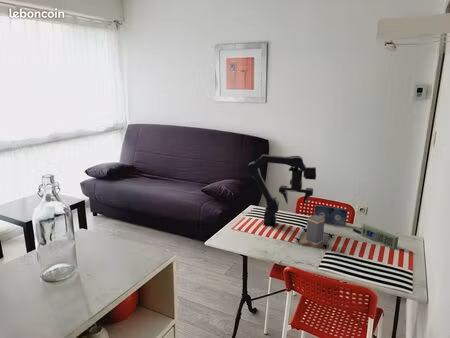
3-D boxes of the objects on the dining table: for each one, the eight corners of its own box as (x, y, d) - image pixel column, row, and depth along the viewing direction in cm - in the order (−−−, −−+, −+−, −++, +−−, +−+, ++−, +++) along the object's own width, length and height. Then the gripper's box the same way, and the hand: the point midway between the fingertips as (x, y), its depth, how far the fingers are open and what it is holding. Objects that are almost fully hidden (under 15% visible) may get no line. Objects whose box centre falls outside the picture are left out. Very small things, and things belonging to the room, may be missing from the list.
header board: (298, 244, 175) (299, 237, 174) (301, 234, 186) (301, 227, 185) (322, 248, 171) (323, 240, 170) (324, 238, 182) (324, 231, 181)
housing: (306, 239, 177) (307, 217, 174) (313, 236, 180) (314, 214, 177) (315, 243, 172) (317, 220, 169) (322, 240, 176) (324, 218, 173)
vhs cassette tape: (346, 224, 200) (347, 209, 197) (345, 226, 197) (347, 210, 194) (314, 219, 207) (315, 204, 205) (313, 221, 205) (314, 205, 202)
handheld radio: (393, 250, 170) (351, 232, 190) (397, 248, 172) (354, 231, 192) (396, 237, 169) (352, 221, 189) (399, 236, 170) (356, 219, 190)
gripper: (314, 176, 195) (313, 202, 199) (282, 173, 201) (281, 198, 205) (313, 181, 185) (311, 208, 189) (279, 178, 191) (278, 204, 194)
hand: (295, 204), depth 194 cm, fingers open, 9 cm apart
